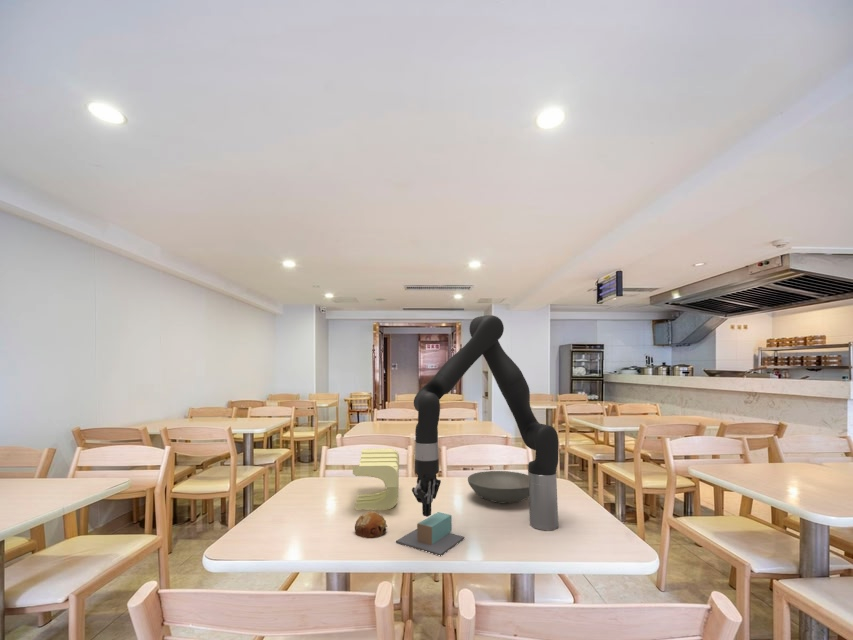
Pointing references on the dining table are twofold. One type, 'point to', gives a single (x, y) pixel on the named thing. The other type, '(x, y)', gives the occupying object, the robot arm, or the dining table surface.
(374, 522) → the bread roll
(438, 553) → the mat
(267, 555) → the dining table surface
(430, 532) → the teal block
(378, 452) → the slatted curved stool
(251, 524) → the dining table surface
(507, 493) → the bowl
